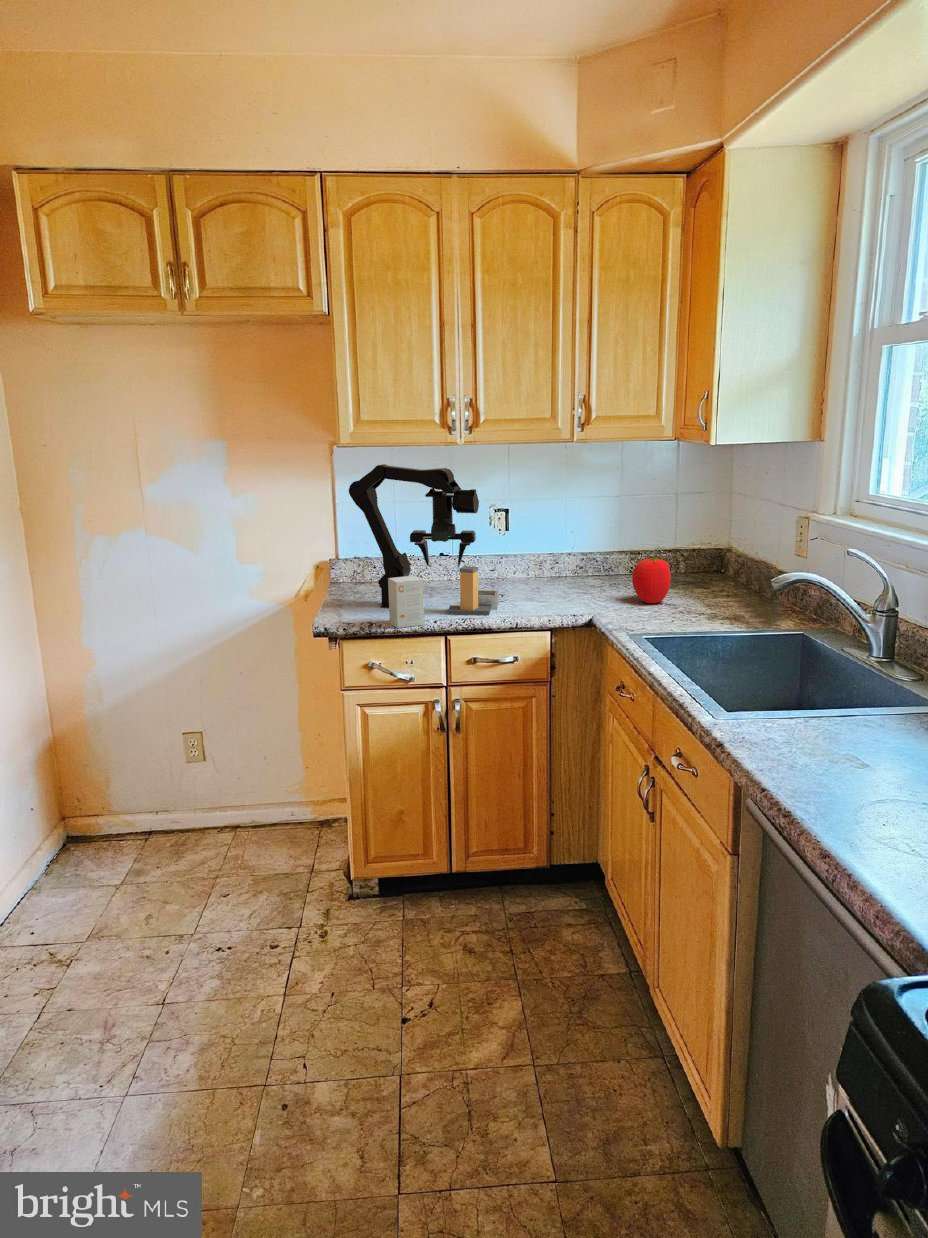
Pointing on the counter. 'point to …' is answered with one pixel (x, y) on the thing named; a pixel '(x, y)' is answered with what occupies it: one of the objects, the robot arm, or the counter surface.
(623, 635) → the counter surface
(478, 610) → the rubber mat
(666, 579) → the tomato
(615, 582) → the counter surface
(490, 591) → the socket
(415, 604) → the small box
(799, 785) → the counter surface
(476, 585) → the grey capped orange post
